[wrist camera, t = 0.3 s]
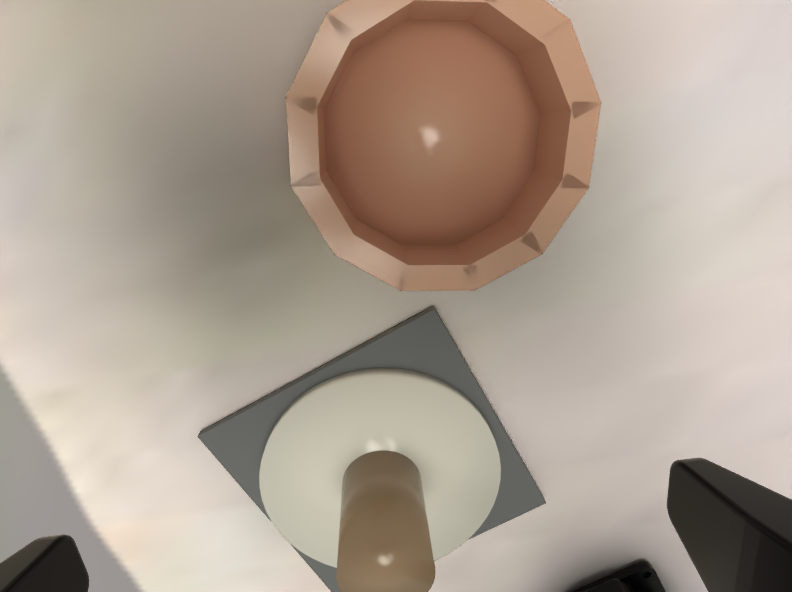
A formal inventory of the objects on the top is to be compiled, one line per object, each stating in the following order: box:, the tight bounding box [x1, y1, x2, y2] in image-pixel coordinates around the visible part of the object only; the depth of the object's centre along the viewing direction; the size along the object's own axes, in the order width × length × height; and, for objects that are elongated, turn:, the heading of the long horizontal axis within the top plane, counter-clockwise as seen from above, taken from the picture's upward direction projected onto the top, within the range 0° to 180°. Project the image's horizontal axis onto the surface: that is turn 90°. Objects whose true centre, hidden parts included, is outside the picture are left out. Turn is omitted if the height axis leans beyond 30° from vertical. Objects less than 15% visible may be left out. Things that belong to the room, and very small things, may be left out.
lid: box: [259, 368, 501, 592], centre depth 20 cm, size 11×11×6 cm
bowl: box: [286, 0, 601, 291], centre depth 17 cm, size 10×10×4 cm
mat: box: [198, 306, 546, 592], centre depth 23 cm, size 12×12×1 cm
